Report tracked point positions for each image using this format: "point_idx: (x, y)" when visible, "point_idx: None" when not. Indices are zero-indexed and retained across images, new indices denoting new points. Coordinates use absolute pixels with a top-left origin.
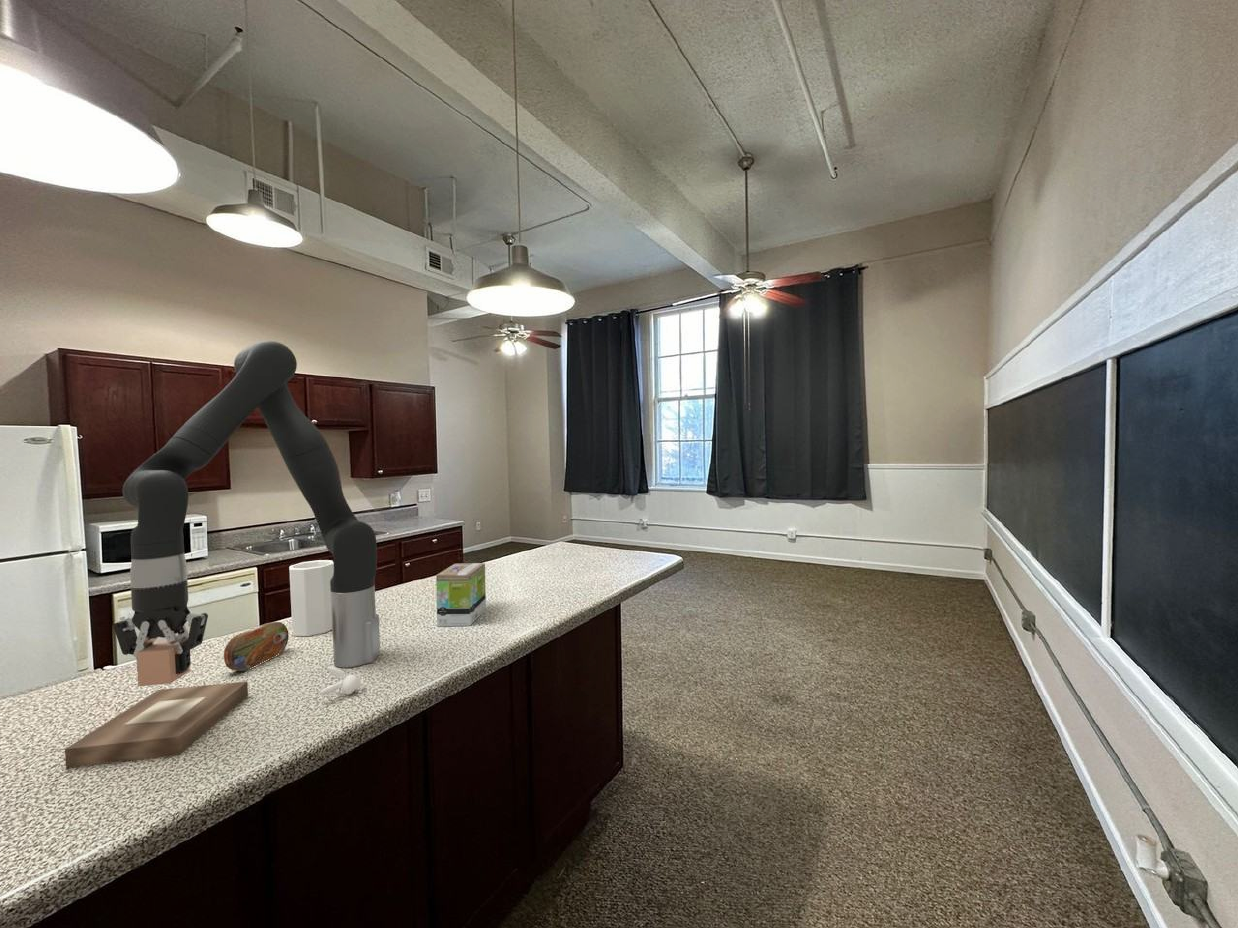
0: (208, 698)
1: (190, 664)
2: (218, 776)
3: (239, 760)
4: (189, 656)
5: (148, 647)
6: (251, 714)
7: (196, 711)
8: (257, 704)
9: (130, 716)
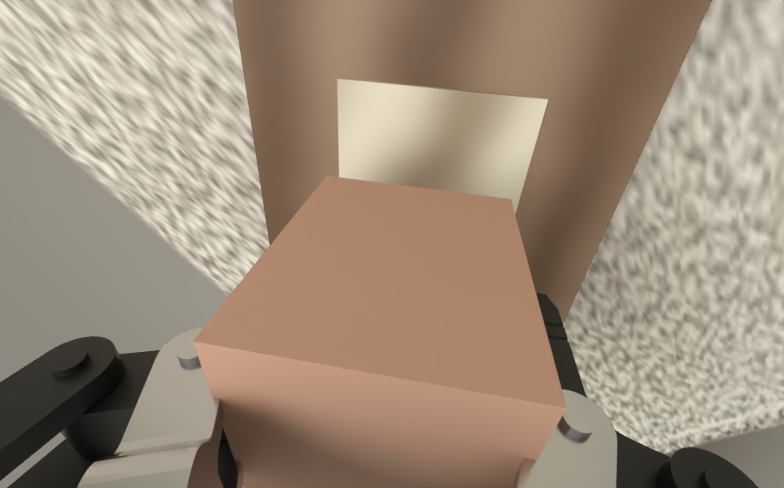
0: (559, 109)
1: (556, 308)
2: (646, 420)
3: (686, 391)
4: (570, 364)
5: (247, 447)
6: (719, 159)
7: (546, 227)
8: (750, 59)
9: (312, 182)
